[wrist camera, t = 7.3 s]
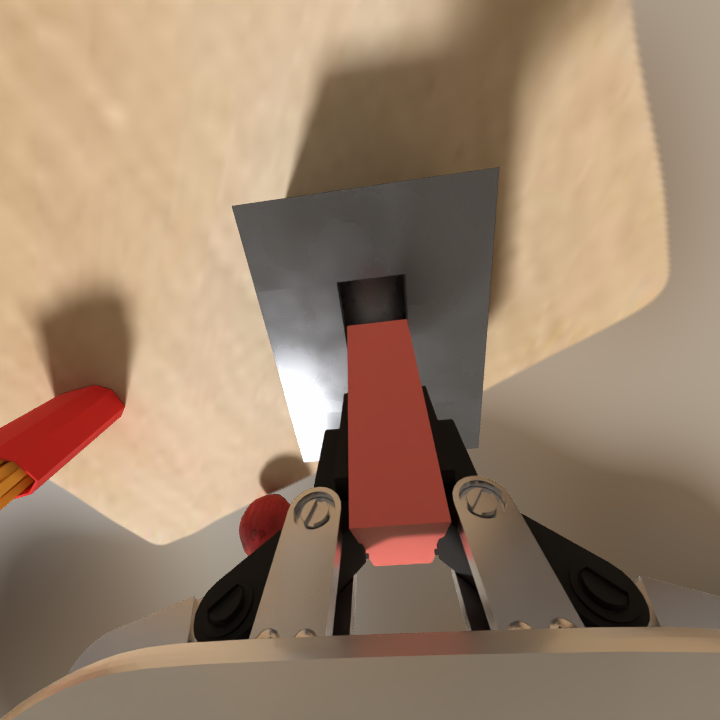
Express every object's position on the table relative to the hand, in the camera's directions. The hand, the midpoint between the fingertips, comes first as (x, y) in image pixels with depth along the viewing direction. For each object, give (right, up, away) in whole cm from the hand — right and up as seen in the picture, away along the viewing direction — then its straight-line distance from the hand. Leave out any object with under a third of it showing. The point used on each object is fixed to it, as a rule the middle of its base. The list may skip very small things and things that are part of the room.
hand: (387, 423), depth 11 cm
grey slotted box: (0, +7, +14) cm, 15 cm away
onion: (-11, -14, +24) cm, 30 cm away
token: (0, -3, +1) cm, 3 cm away
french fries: (-29, -2, +19) cm, 34 cm away
